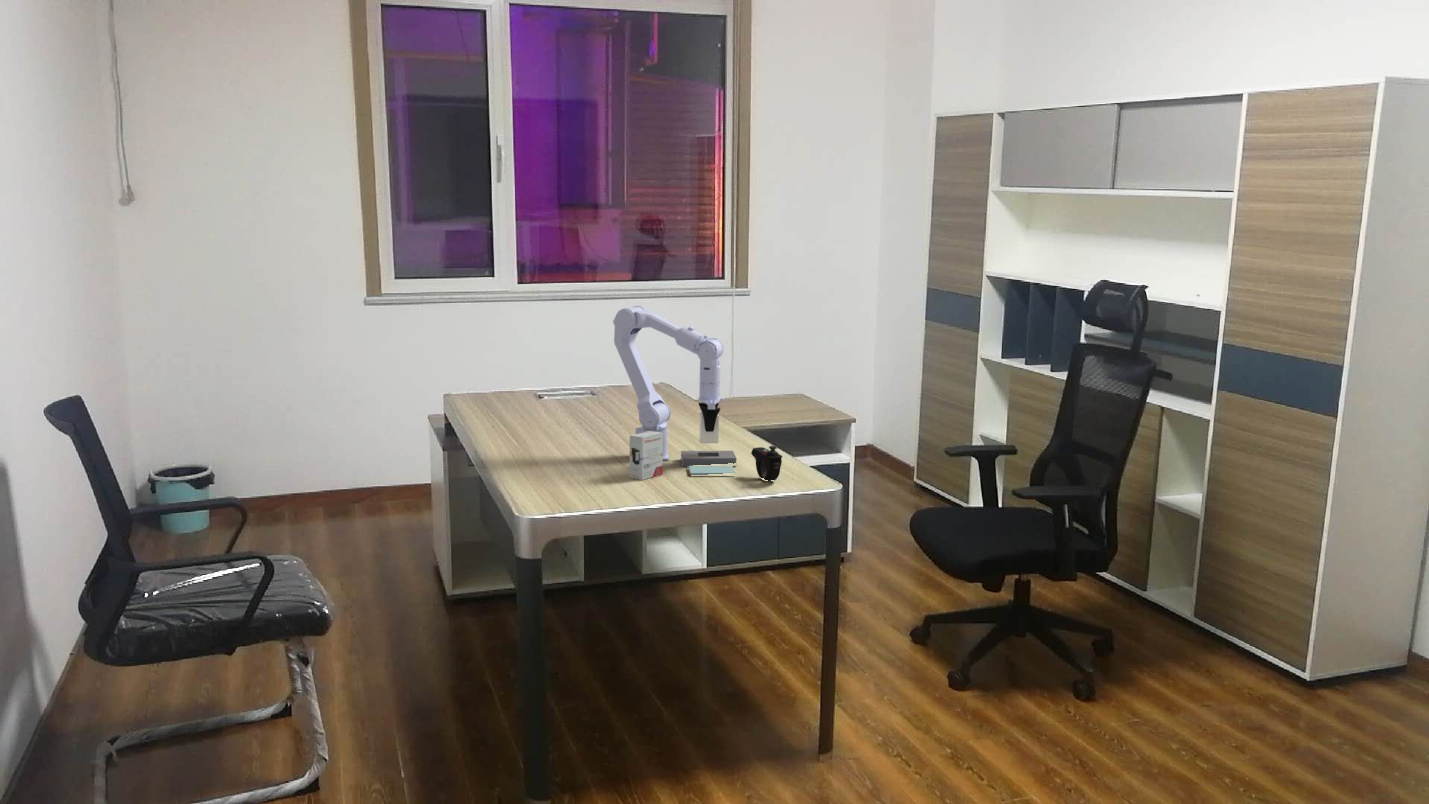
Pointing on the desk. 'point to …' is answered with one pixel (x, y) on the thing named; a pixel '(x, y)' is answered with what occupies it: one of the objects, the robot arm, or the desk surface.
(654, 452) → the ink box
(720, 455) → the grey board with hole
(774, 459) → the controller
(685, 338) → the robot arm
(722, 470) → the mat
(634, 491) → the desk surface
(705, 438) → the plug
